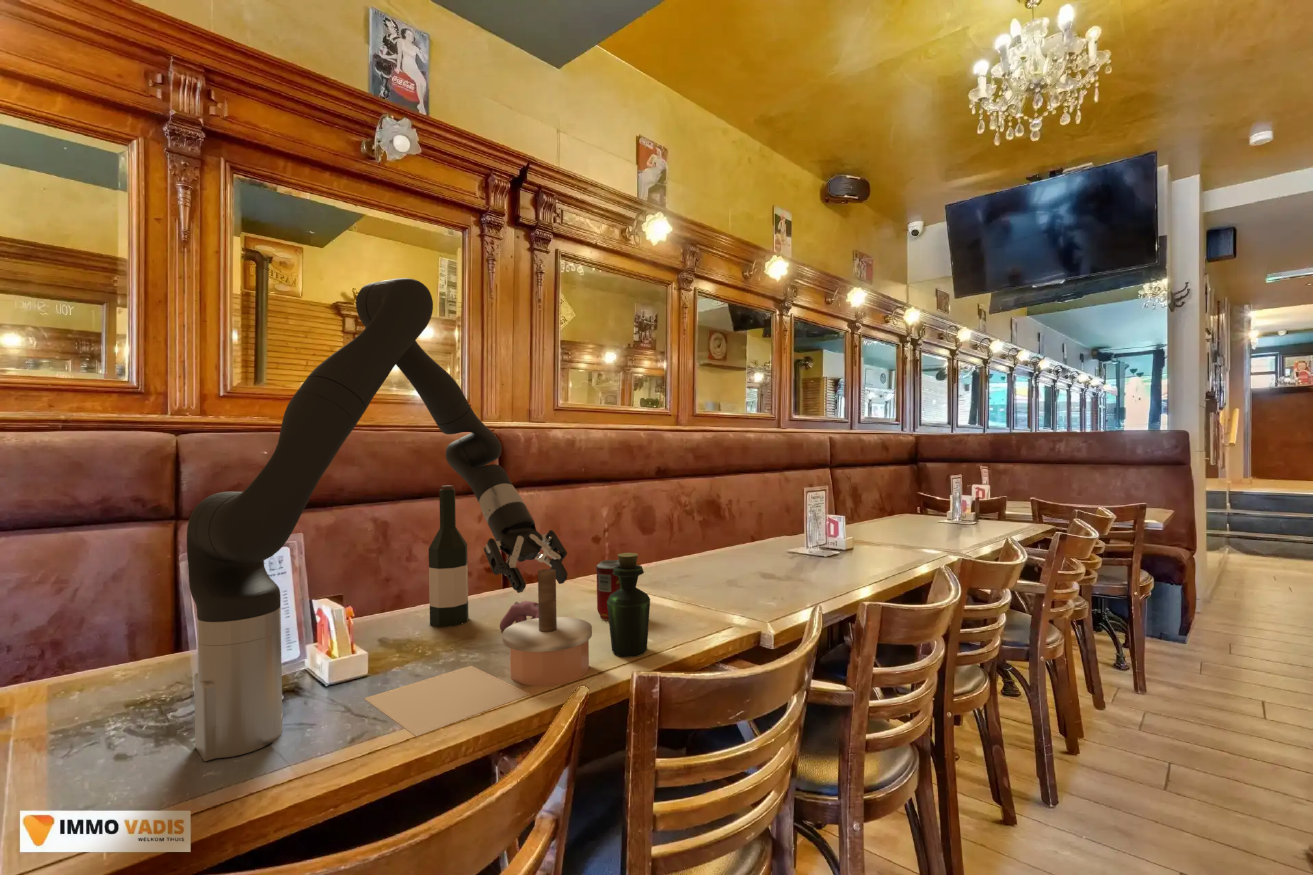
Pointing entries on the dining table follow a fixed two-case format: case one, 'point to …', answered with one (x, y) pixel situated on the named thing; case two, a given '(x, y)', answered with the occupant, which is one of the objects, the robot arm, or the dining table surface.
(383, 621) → the dining table surface
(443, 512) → the wine bottle
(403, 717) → the cork mat
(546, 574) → the lid
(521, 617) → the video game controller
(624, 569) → the potion bottle
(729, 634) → the dining table surface
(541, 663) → the bowl
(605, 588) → the soda can
